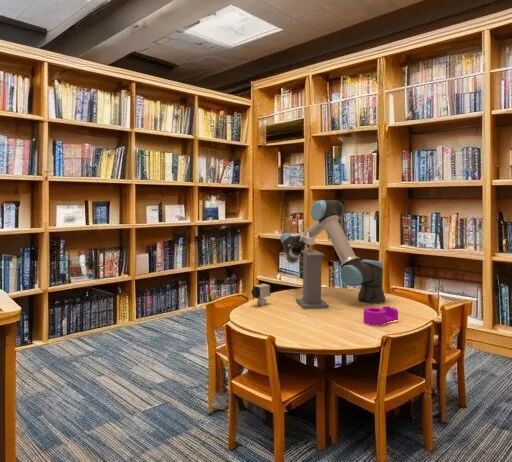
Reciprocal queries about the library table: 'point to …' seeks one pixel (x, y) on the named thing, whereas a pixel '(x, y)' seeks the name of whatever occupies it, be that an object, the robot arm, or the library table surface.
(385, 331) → the library table surface
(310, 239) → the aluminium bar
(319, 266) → the stand
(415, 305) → the library table surface
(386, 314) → the tape dispenser
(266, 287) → the grey camera
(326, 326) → the library table surface
